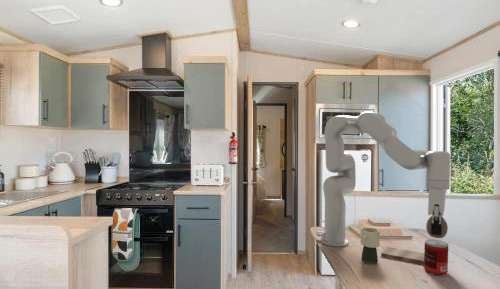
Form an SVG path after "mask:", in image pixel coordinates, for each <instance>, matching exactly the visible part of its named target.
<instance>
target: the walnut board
mask: <svg viewBox="0 0 500 289" xmlns="http://www.w3.org/2000/svg"><path fill="white" fill-rule="evenodd" d="M380 254H381V256H380V257H381V258H387V259H391V258H392V259H391V260H396V259H397V260H398V261H403V262H406V263H413V264H418V265H421V266H422V265H423V266H424V252H420V251H419V252H418V251H412V250H408V249H402V248H395V247H392V246H391V247H390V246H384V249H382V251H381V253H380Z"/></svg>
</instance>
